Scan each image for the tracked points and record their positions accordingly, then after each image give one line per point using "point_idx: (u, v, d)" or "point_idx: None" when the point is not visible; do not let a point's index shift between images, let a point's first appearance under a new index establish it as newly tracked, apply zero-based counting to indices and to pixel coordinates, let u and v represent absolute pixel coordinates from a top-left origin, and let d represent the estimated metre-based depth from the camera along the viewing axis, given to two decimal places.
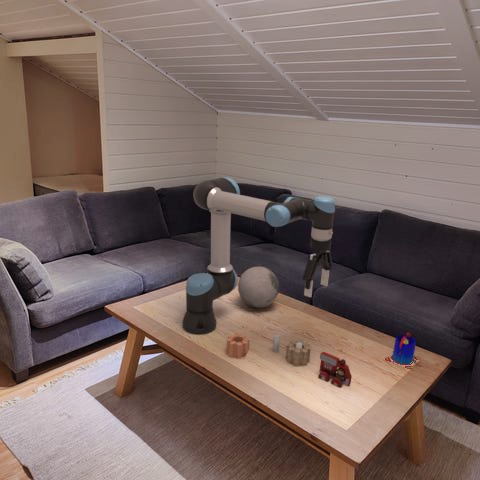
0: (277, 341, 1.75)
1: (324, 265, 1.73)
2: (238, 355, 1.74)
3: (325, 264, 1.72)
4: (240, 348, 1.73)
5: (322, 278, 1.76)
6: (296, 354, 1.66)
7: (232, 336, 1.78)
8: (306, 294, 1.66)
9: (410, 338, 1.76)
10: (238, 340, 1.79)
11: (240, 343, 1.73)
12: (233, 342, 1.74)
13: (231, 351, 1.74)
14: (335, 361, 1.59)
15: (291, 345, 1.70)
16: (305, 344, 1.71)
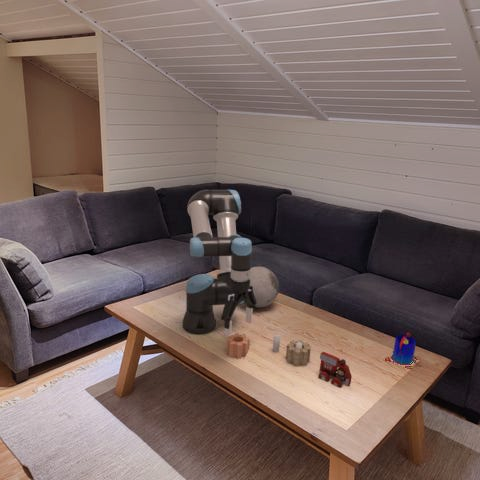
0: (277, 341, 1.75)
1: (247, 303, 1.77)
2: (238, 355, 1.74)
3: (248, 302, 1.75)
4: (240, 348, 1.73)
5: (246, 316, 1.79)
6: (296, 354, 1.66)
7: (232, 336, 1.78)
8: (226, 333, 1.69)
9: (410, 338, 1.76)
10: (238, 340, 1.79)
11: (240, 343, 1.73)
12: (233, 342, 1.74)
13: (231, 351, 1.74)
14: (335, 361, 1.59)
15: (291, 345, 1.70)
16: (305, 344, 1.71)
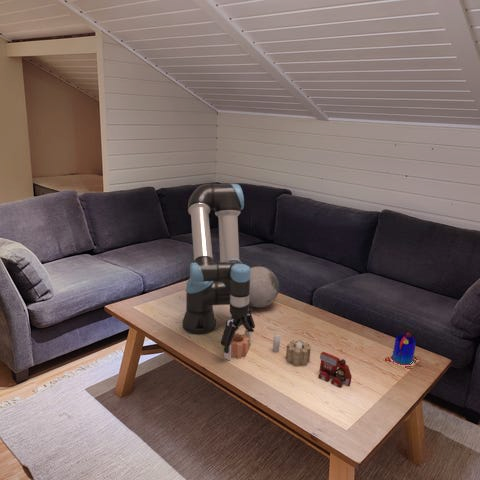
0: (277, 341, 1.75)
1: (246, 327, 1.80)
2: (238, 355, 1.74)
3: (246, 326, 1.79)
4: (240, 348, 1.73)
5: None
6: (296, 354, 1.66)
7: None
8: (226, 357, 1.73)
9: (410, 338, 1.76)
10: (238, 340, 1.79)
11: (240, 343, 1.73)
12: (233, 342, 1.74)
13: (231, 351, 1.74)
14: (335, 361, 1.59)
15: (291, 345, 1.70)
16: (305, 344, 1.71)
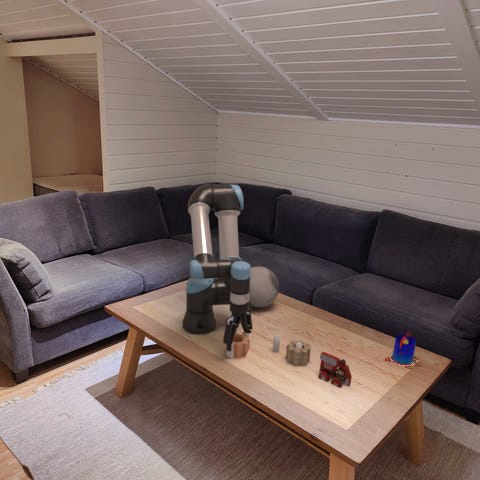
0: (277, 341, 1.75)
1: (244, 327, 1.79)
2: (238, 355, 1.74)
3: (244, 326, 1.78)
4: (240, 348, 1.73)
5: None
6: (296, 354, 1.66)
7: None
8: (228, 355, 1.74)
9: (410, 338, 1.76)
10: (238, 340, 1.79)
11: (240, 343, 1.73)
12: (233, 342, 1.74)
13: None
14: (335, 361, 1.59)
15: (291, 345, 1.70)
16: (305, 344, 1.71)
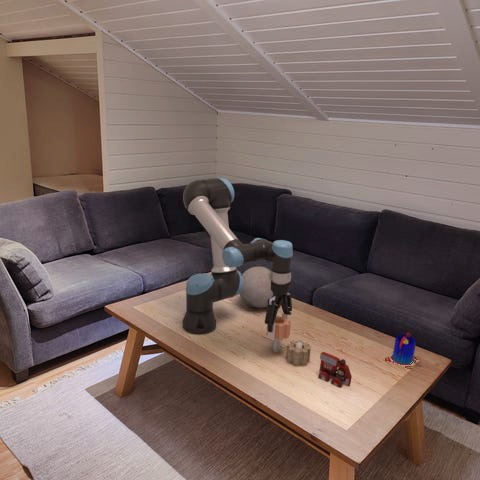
0: (277, 341, 1.75)
1: (284, 309, 1.76)
2: (279, 336, 1.70)
3: (285, 307, 1.75)
4: (282, 329, 1.69)
5: None
6: (296, 354, 1.66)
7: None
8: (269, 337, 1.71)
9: (410, 338, 1.76)
10: (278, 322, 1.76)
11: (281, 324, 1.70)
12: (274, 323, 1.71)
13: None
14: (335, 361, 1.59)
15: (291, 345, 1.70)
16: (305, 344, 1.71)
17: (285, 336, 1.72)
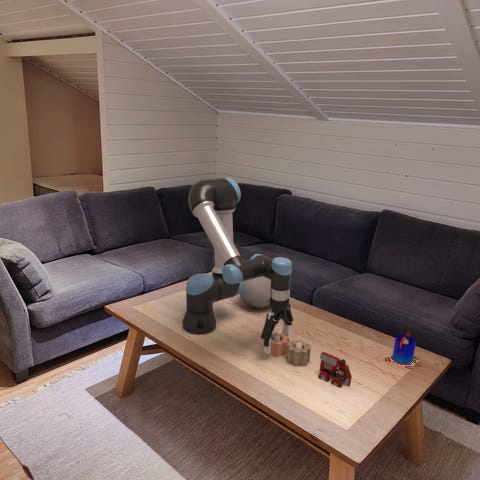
0: None
1: (284, 321, 1.79)
2: (278, 354, 1.73)
3: (285, 320, 1.78)
4: (280, 347, 1.72)
5: (283, 332, 1.81)
6: (296, 354, 1.66)
7: (271, 335, 1.78)
8: (265, 351, 1.72)
9: (410, 338, 1.76)
10: None
11: (280, 342, 1.73)
12: (273, 341, 1.73)
13: (271, 350, 1.73)
14: (335, 361, 1.59)
15: (291, 345, 1.70)
16: (305, 344, 1.71)
17: (283, 353, 1.75)
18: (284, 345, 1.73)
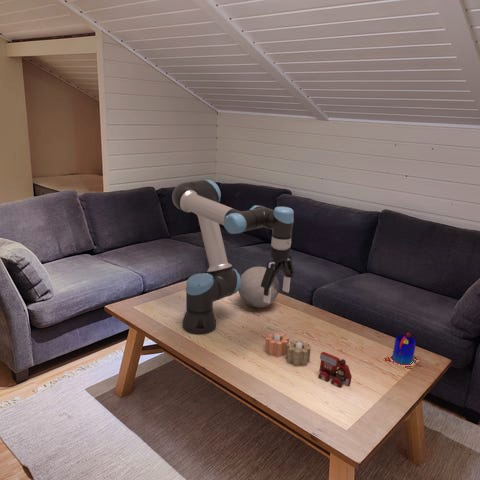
0: None
1: (285, 272, 1.79)
2: (278, 354, 1.73)
3: (286, 272, 1.78)
4: (280, 347, 1.72)
5: (284, 285, 1.82)
6: (296, 354, 1.66)
7: (271, 335, 1.78)
8: (265, 300, 1.72)
9: (410, 338, 1.76)
10: None
11: (280, 342, 1.73)
12: (273, 341, 1.73)
13: (271, 350, 1.73)
14: (335, 361, 1.59)
15: (291, 345, 1.70)
16: (305, 344, 1.71)
17: (283, 353, 1.75)
18: (284, 345, 1.73)
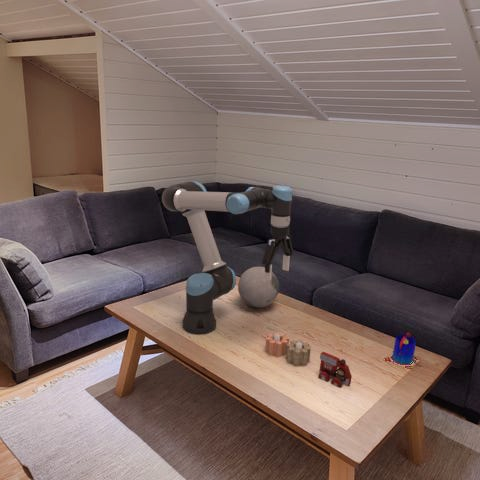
0: None
1: (285, 251, 1.84)
2: (278, 354, 1.73)
3: (285, 250, 1.83)
4: (280, 347, 1.72)
5: (283, 263, 1.87)
6: (296, 354, 1.66)
7: (271, 335, 1.78)
8: (266, 277, 1.77)
9: (410, 338, 1.76)
10: None
11: (280, 342, 1.73)
12: (273, 341, 1.73)
13: (271, 350, 1.73)
14: (335, 361, 1.59)
15: (291, 345, 1.70)
16: (305, 344, 1.71)
17: (283, 353, 1.75)
18: (284, 345, 1.73)
